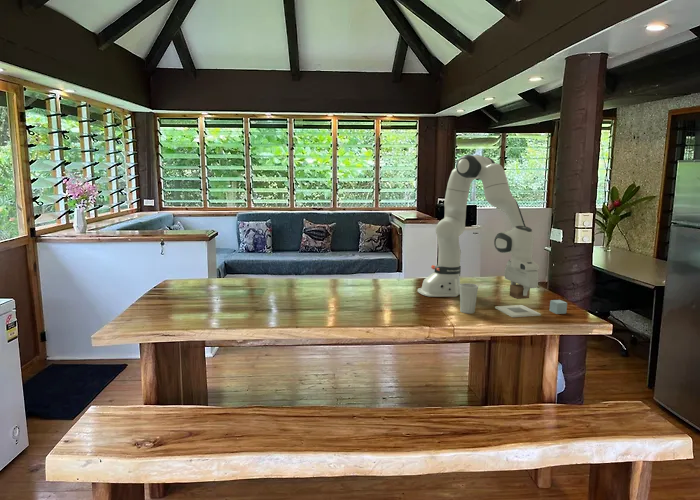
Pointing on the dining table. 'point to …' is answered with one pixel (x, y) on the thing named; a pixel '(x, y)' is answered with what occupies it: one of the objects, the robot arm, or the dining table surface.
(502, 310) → the plate
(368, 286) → the dining table surface
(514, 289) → the walnut block
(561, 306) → the grey cube
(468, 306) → the cup
